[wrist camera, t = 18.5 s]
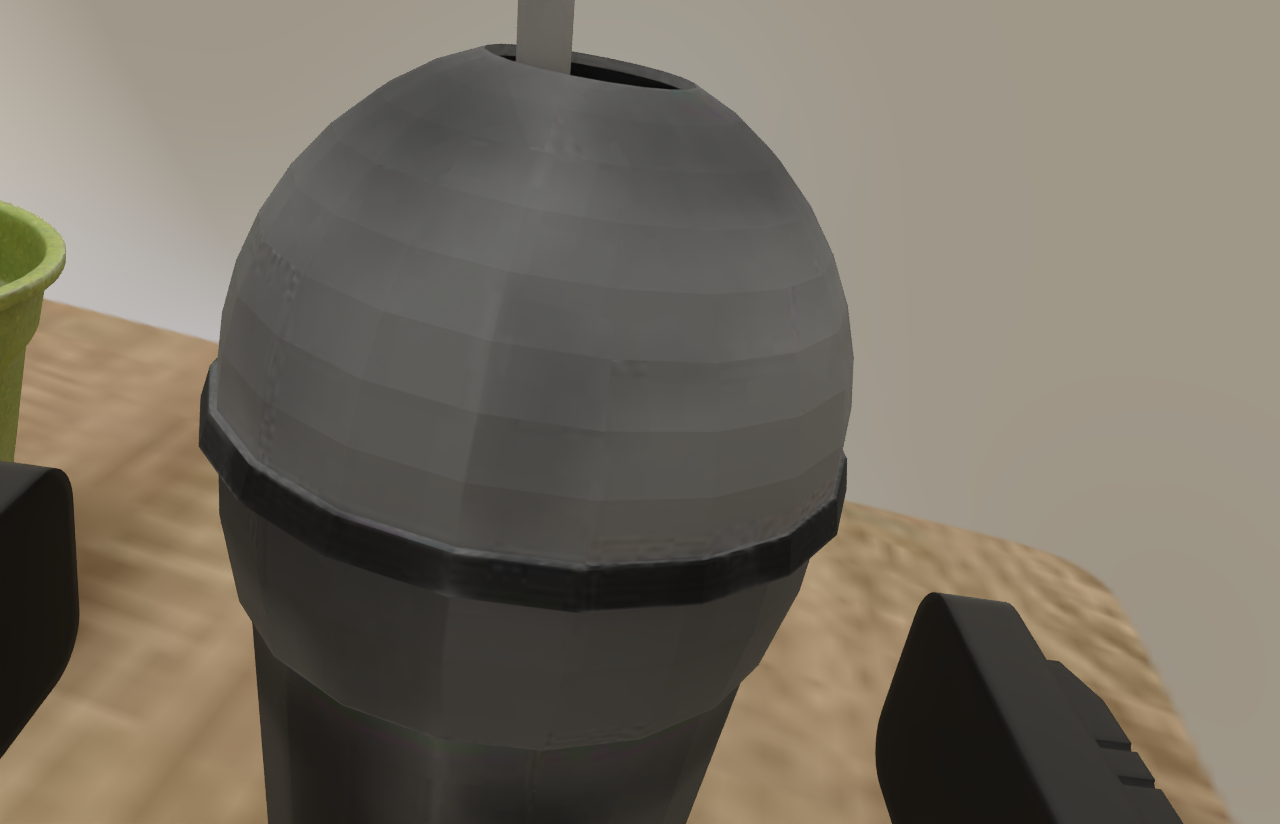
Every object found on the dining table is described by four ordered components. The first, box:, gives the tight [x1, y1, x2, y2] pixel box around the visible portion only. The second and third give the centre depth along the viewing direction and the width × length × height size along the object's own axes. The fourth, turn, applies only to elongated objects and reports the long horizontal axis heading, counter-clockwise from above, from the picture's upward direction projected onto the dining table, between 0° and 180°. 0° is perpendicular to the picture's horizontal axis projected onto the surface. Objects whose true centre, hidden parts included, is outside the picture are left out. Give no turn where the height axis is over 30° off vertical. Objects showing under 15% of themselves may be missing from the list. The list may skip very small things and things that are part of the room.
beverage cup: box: [199, 0, 854, 824], centre depth 12 cm, size 7×7×20 cm
